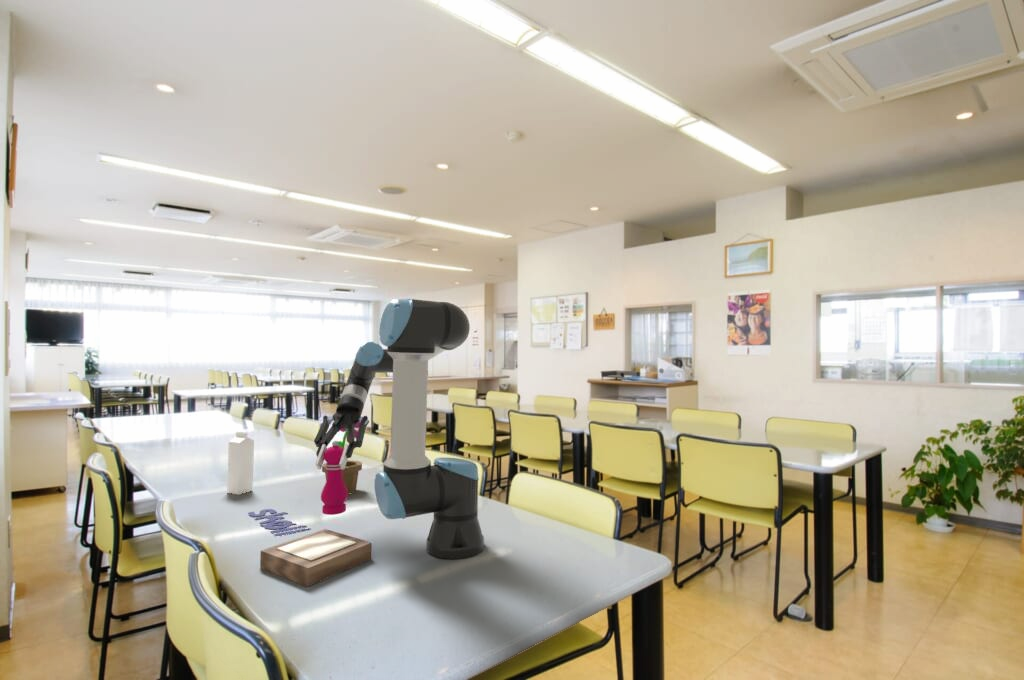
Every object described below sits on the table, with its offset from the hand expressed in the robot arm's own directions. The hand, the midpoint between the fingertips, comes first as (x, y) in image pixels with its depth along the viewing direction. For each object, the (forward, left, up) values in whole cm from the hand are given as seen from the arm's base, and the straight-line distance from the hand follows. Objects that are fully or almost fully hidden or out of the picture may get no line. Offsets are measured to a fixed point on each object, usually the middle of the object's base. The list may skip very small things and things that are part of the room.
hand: (329, 466), depth 137 cm
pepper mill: (+2, -3, -14) cm, 14 cm away
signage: (+26, -1, -20) cm, 33 cm away
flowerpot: (+37, -34, -20) cm, 54 cm away
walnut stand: (-11, +12, -20) cm, 26 cm away
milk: (+68, -13, -20) cm, 72 cm away
